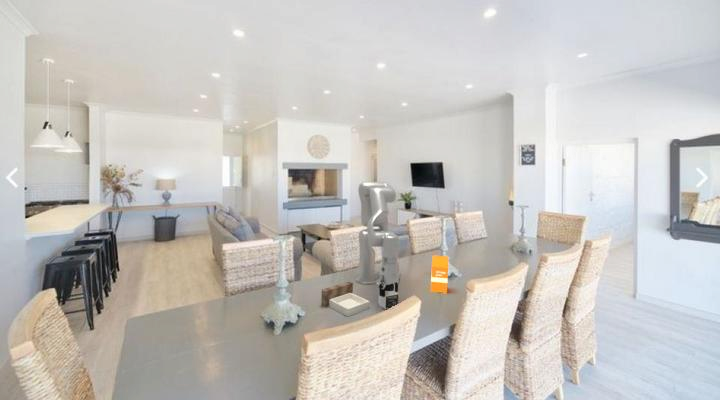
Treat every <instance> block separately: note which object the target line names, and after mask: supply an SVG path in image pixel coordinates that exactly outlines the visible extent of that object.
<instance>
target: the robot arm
mask: <svg viewBox="0 0 720 400" xmlns="http://www.w3.org/2000/svg"><path fill="white" fill-rule="evenodd" d="M358 195H359V196H358V197H359V200H360V208H361V209H360V211H361V213H360V217H361V219H360V220H361V221H360V222H361V225H362V226H363V227H366V228H365V229H364V228H363V229H362V230H359V232H358V243H359V244H358V245H359V257H358V258H359V259H358V260H359V262H358V263H359V264H358V276H357V277H356V278H355V280H356V282H357V283H359V284H361V285H372V284H377V285H376V286H377V287H378V289H379V290H378V296H379V295H380V296H382V297H385V289H384V288H385V286H386V285H390V284H393V283H394V284H395V292H396V293H399V291H398V290H399V285H400V281H401V278H402V273H400V265H399V261H398V260H399V257H398V256H399V236H398V235H396V234H395V232H394V231H389V229H388V228H389V219H388V217H389V207H388V203H389V204H390V203H391V204H392V203H394V202H395V201H396V199H397V198H396V197H397V192H396V190H395V188H394V187H393V186H392V185H390V183H388V182H386V181H385V182H383V181H362V182H360V184H359V185H358ZM374 247H375V248H376V247H379V248H380V247H382V258H381V267H380V271H379V272H378V271H377V272H376V270H375V269H376V250H375V249H374ZM378 276H379V278H377V277H378ZM383 284H384V285H383Z"/></svg>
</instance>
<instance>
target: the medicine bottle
mask: <svg viewBox="0 0 720 400" xmlns="http://www.w3.org/2000/svg"><path fill="white" fill-rule="evenodd" d="M383 285H384V284H382V286H383ZM384 289H385V297H382V296H380V295H379V294H378V300H377V301H378V303H377V304H378V305H379V306H380V307H381V308H383V309H384V310H385V311H386V309H387V310H389V309H388V308H391V307H392V306H395V305H397V304H399V292H395V284H394V283H393V284H390V285H386V286H385V288H384Z"/></svg>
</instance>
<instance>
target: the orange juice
mask: <svg viewBox="0 0 720 400" xmlns="http://www.w3.org/2000/svg"><path fill="white" fill-rule="evenodd" d="M430 274H431V275H430V277H431V278H430V293H437V292H443V293H442V294H448V293H447V292H448V279H449V277H448V276H449V256H447V255H446V256H445V255H435V254H434V255H432V261H431V273H430Z"/></svg>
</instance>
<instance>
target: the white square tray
mask: <svg viewBox="0 0 720 400" xmlns="http://www.w3.org/2000/svg"><path fill="white" fill-rule="evenodd" d="M370 303H371V301H370V300H367V299H366V298H363V297H361V296H359V295H356V294H354V293H353V294H352V293H348V294H345V295H342V296H338V297H335V298H332V299H329V306H328V307H329V308H331V309H332V310H334V311H337V312H338V313H340V314H342V315H344V316H346V317H350V316H351V317H352V316H353V315H356V314H359V313H362V312H364V311H365V310H368V309H370V306H371V305H370Z"/></svg>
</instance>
